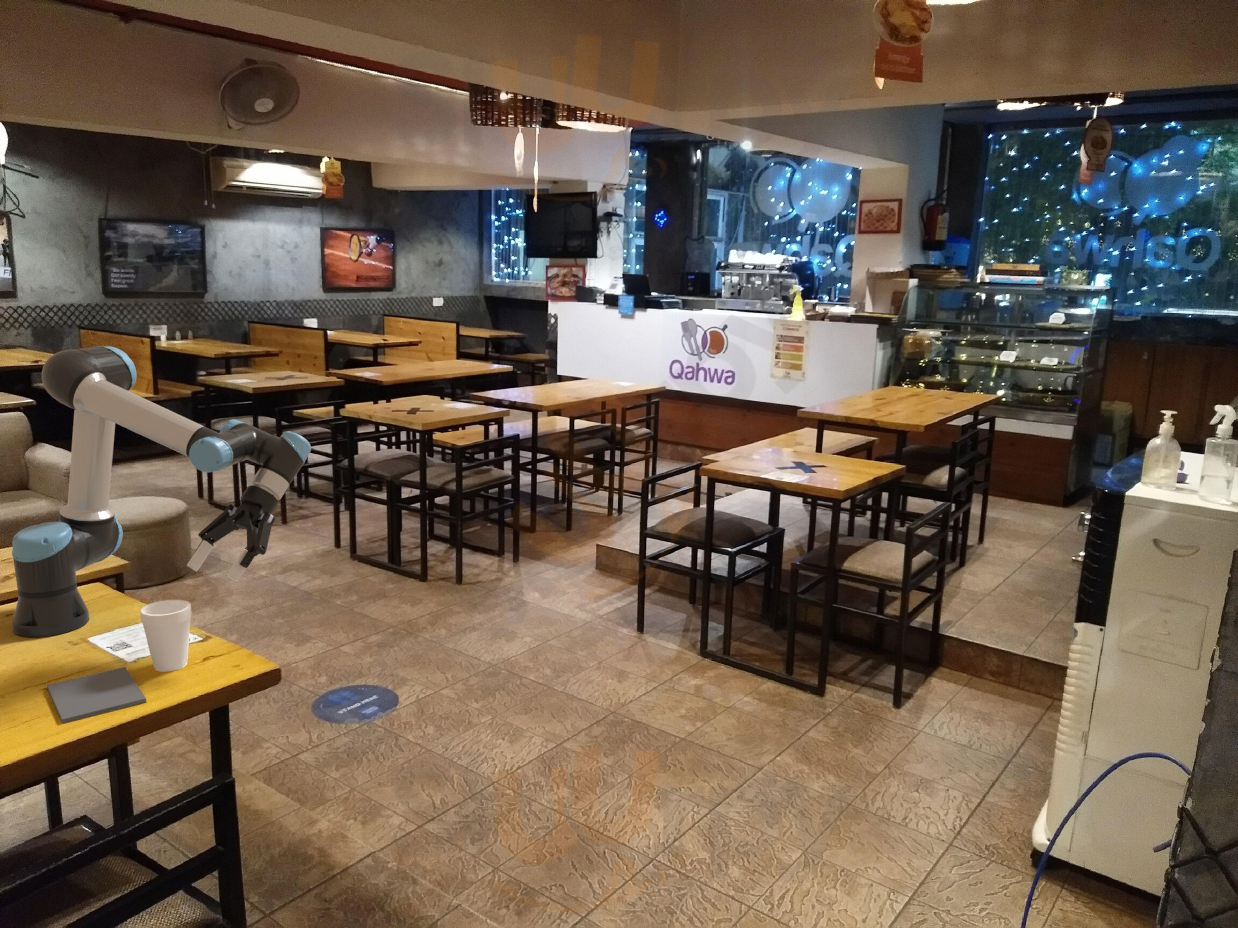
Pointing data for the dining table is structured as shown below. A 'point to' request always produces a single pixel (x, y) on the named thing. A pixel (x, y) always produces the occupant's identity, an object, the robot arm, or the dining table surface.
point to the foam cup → (167, 633)
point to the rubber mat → (95, 694)
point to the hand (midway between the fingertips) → (211, 573)
